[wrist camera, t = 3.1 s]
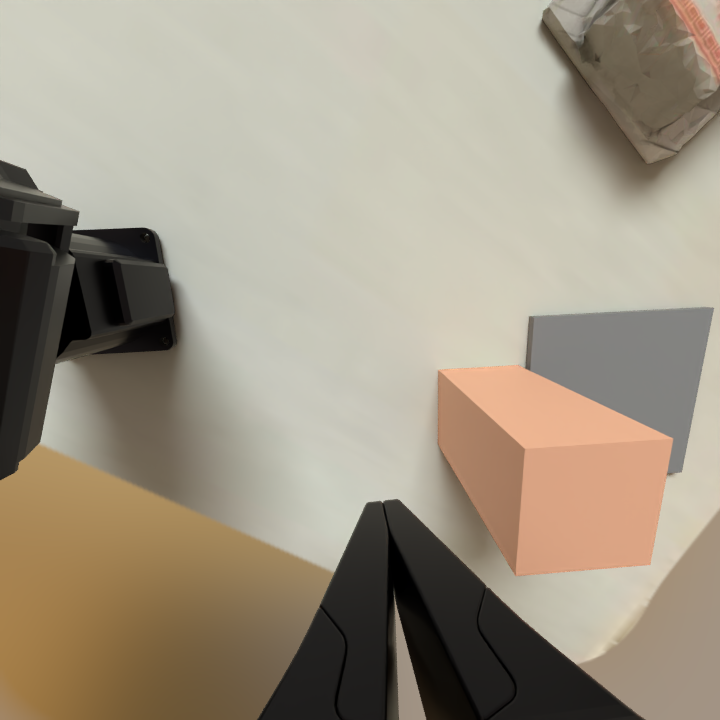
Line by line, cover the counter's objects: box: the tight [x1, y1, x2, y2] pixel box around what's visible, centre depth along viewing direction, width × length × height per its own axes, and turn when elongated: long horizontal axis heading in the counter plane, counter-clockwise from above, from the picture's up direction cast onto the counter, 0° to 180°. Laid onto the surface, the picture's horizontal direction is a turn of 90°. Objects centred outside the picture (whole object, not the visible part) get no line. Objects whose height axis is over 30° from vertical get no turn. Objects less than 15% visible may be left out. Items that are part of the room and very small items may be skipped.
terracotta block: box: [438, 365, 673, 576], centre depth 16 cm, size 5×5×10 cm
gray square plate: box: [526, 307, 714, 473], centre depth 21 cm, size 11×11×1 cm
